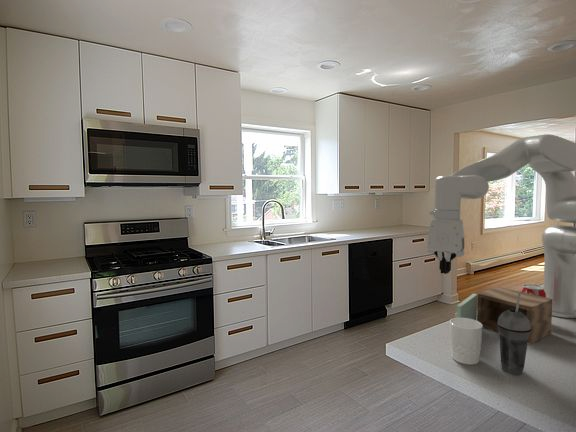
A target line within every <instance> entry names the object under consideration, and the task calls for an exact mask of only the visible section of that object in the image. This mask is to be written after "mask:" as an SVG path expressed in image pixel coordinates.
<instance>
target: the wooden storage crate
mask: <svg viewBox="0 0 576 432" xmlns="http://www.w3.org/2000/svg"><path fill="white" fill-rule="evenodd" d="M518 293H521V295H520V302H519V308H518V311H520V312H522V313H523V314H524V315H525V316H526V317H527V318H528V320H529V322H530V325H531V331H530V336H529V338H528V344H530V345H531V344H532V343H535V342H537V341H538V340H541V339H543V338H545V337H546V336H549V335H551V334H552V318H553V316H552V300H553V299H550V298H545V297H541V296H537V295H532V294H528V293H524V292H521V291H518V290H514V289H509V288H505V287H501V286H498V287H494V288H490V289H488V290H484V291H480V292H478V293H477V321H478V322H480V323H481V324H482V325H483V328H482V329H486V330H488V331H491V332H494V333H498V334H499V332H498V326H497V322H498V318H499V316H500V315H501V314H502V313H503V312H504V311H507V310H516V305H517V298H518Z"/></svg>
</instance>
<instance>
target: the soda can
mask: <svg viewBox="0 0 576 432" xmlns="http://www.w3.org/2000/svg"><path fill="white" fill-rule="evenodd" d="M520 292H524V293H528V294H532V295H537V296H541V297H545V298H546V293H545V291H544V288H543V286H541V285H538V284H523V287H522V288H521V291H520Z"/></svg>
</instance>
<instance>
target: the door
mask: <svg viewBox="0 0 576 432" xmlns="http://www.w3.org/2000/svg"><path fill="white" fill-rule="evenodd" d="M477 302H478V293H472V294H471V295H469V296H468V297H467V298H465V299H463V301H461V302H460V303H458V304H457V305H456V312H455V313H454V318H469V319H473V320H476V321H477Z"/></svg>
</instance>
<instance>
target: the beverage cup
mask: <svg viewBox="0 0 576 432" xmlns="http://www.w3.org/2000/svg"><path fill="white" fill-rule="evenodd" d="M520 295H521V293H518V298H517V305H516V310H507V311H504V312H503V313H502V314H501V315H500V316H499V318H498V322H497V326H498V332H499V333H498V338H499V339H498V340H499V353H500V363H501V370H502V372H504V373H506V374H508V375H512V376H517V377H518V376H522V375H523V373H524V369H525V363H526V357H527V356H526V355H527V350H528V344H529V343H528V338H529V336H530V331H531V325H530V322H529V320H528V318H527V317H526V316H525V315H524V314H523V313H522V312H520V311H518V308H519V302H520Z"/></svg>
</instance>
